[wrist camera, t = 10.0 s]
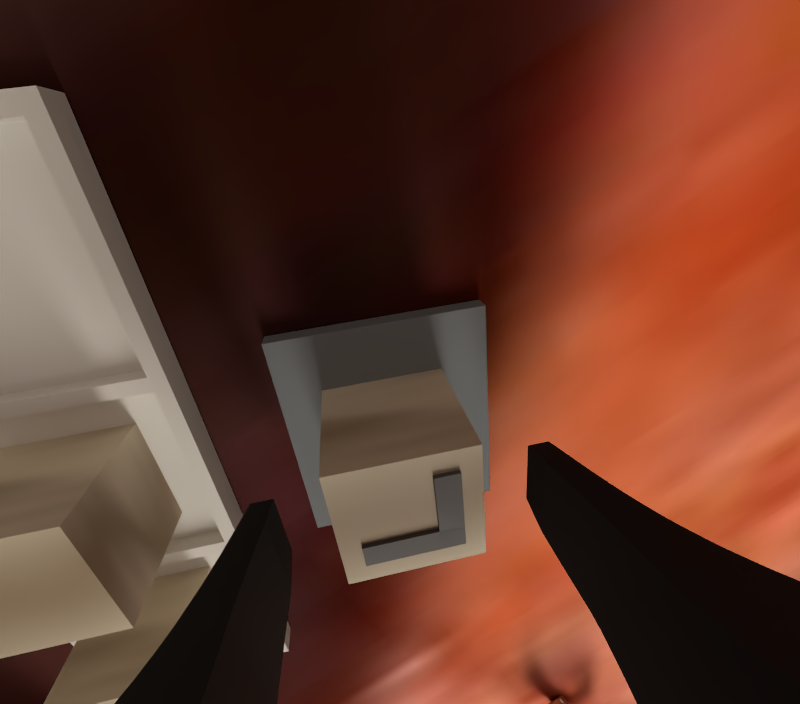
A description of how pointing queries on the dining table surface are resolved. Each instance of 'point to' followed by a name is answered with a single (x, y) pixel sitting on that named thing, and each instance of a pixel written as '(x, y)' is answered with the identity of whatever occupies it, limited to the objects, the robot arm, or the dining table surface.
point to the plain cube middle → (79, 536)
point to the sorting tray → (92, 324)
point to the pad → (377, 372)
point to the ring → (559, 700)
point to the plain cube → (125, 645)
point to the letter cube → (401, 475)
